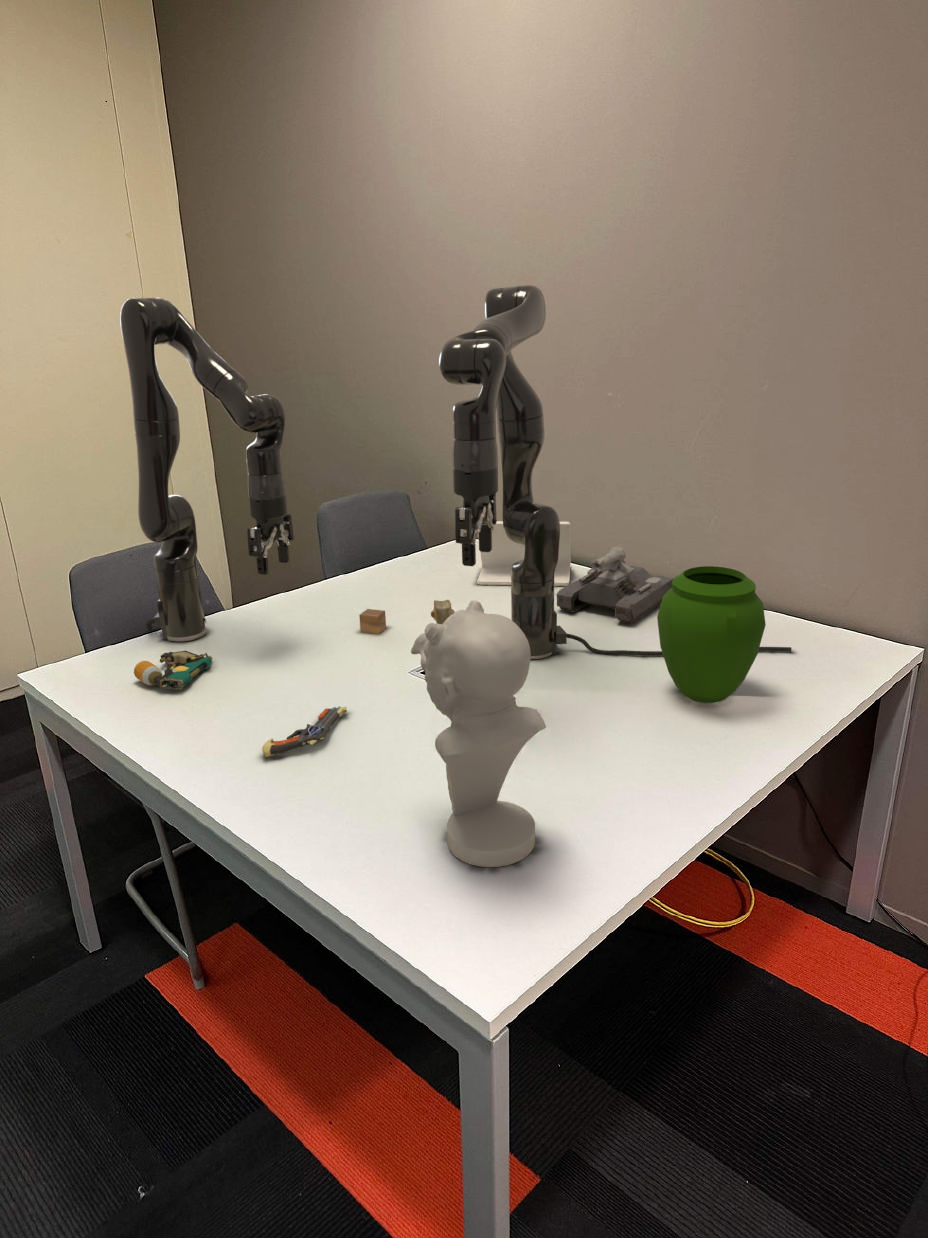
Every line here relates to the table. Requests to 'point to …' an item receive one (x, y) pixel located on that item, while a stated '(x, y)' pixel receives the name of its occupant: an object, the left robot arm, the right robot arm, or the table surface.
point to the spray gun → (172, 669)
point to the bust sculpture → (481, 729)
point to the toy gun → (305, 733)
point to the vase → (710, 631)
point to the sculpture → (441, 611)
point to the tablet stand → (519, 558)
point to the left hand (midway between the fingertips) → (274, 568)
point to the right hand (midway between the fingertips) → (477, 558)
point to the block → (372, 621)
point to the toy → (615, 588)
